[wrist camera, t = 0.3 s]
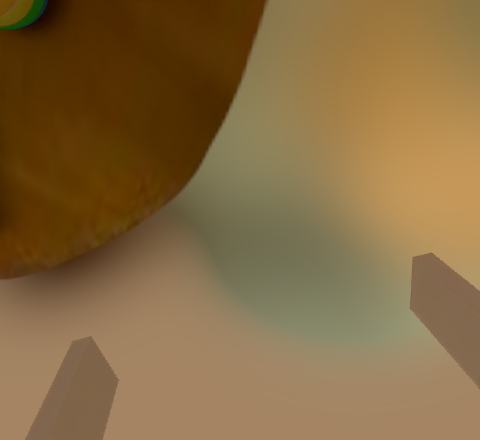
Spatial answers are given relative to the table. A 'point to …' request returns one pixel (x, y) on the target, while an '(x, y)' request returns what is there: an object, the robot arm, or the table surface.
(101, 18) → the table surface
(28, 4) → the decorative egg
